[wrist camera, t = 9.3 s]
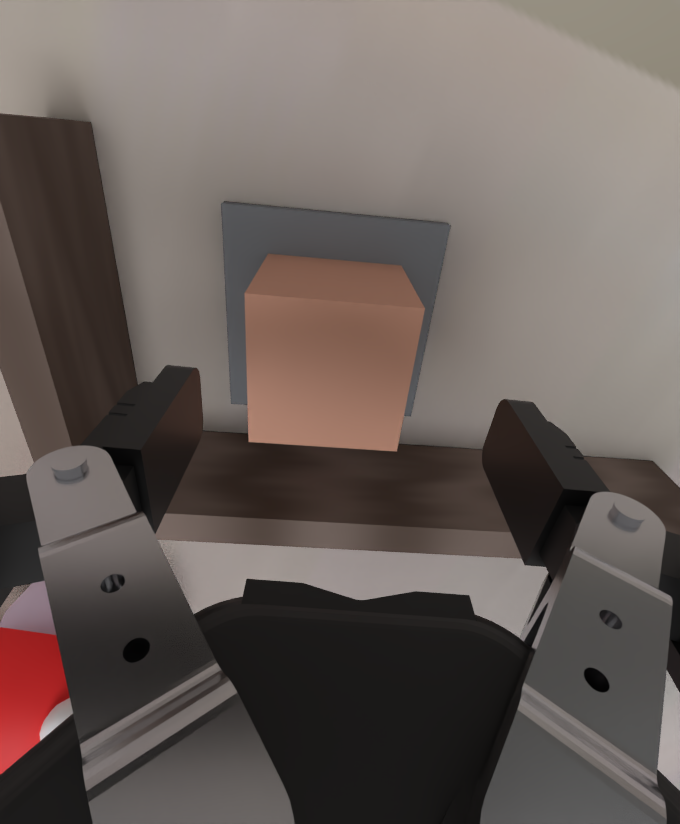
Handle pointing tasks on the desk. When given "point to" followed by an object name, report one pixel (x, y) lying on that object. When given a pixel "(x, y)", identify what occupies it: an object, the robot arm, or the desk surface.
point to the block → (329, 352)
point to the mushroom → (29, 676)
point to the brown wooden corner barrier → (217, 451)
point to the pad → (329, 239)
